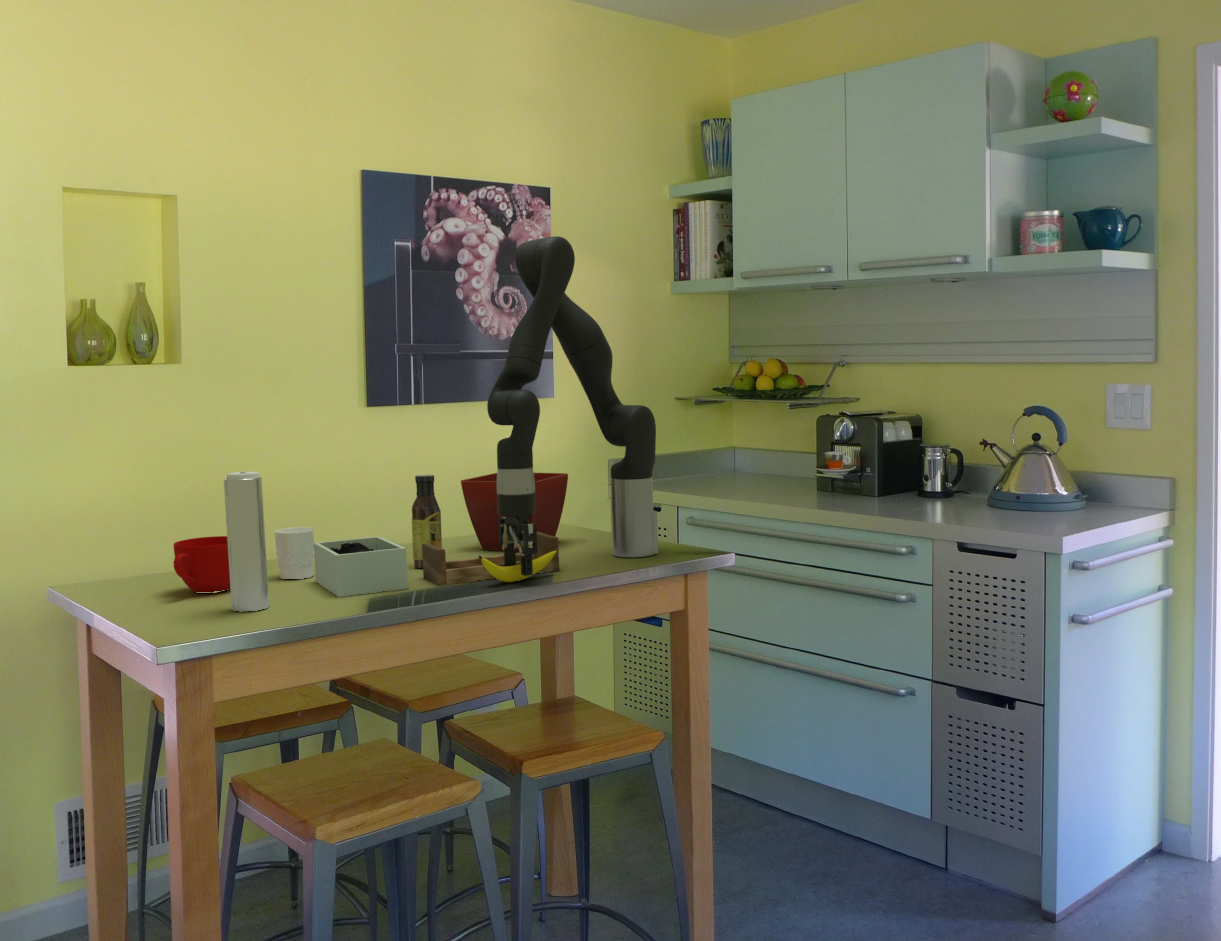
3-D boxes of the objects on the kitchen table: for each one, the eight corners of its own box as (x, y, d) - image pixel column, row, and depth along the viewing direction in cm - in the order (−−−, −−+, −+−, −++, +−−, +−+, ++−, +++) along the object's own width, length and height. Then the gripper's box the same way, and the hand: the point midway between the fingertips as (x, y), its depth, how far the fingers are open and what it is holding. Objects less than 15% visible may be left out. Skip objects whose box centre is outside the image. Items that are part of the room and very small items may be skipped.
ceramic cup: (149, 601, 215) (145, 549, 214) (203, 583, 231) (200, 535, 230) (207, 602, 212) (204, 550, 211) (258, 585, 228) (255, 536, 227)
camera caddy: (381, 574, 236) (379, 536, 235) (407, 588, 219) (405, 548, 219) (315, 581, 230) (313, 542, 229) (338, 597, 213) (336, 555, 212)
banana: (561, 575, 229) (560, 544, 228) (484, 589, 217) (483, 556, 216) (553, 573, 231) (552, 542, 231) (475, 587, 219) (474, 555, 218)
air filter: (236, 605, 208) (228, 471, 206) (272, 604, 209) (264, 470, 206) (228, 613, 202) (219, 474, 199) (264, 611, 202) (256, 473, 200)
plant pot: (533, 555, 253) (530, 481, 251) (461, 552, 261) (458, 480, 260) (572, 542, 270) (570, 472, 269) (503, 539, 278) (501, 471, 277)
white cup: (324, 574, 237) (321, 527, 236) (299, 581, 230) (296, 533, 229) (294, 572, 241) (292, 526, 240) (269, 579, 233) (266, 532, 233)
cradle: (539, 563, 242) (538, 531, 242) (559, 570, 233) (558, 537, 233) (423, 577, 230) (421, 543, 230) (439, 585, 222) (437, 550, 221)
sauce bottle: (436, 569, 239) (432, 476, 238) (409, 569, 241) (404, 476, 239) (447, 563, 246) (443, 473, 244) (420, 563, 247) (416, 473, 245)
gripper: (548, 492, 217) (550, 575, 219) (519, 486, 230) (521, 565, 231) (512, 495, 214) (514, 579, 215) (485, 489, 227) (487, 569, 228)
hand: (518, 572), depth 223 cm, fingers open, 8 cm apart
